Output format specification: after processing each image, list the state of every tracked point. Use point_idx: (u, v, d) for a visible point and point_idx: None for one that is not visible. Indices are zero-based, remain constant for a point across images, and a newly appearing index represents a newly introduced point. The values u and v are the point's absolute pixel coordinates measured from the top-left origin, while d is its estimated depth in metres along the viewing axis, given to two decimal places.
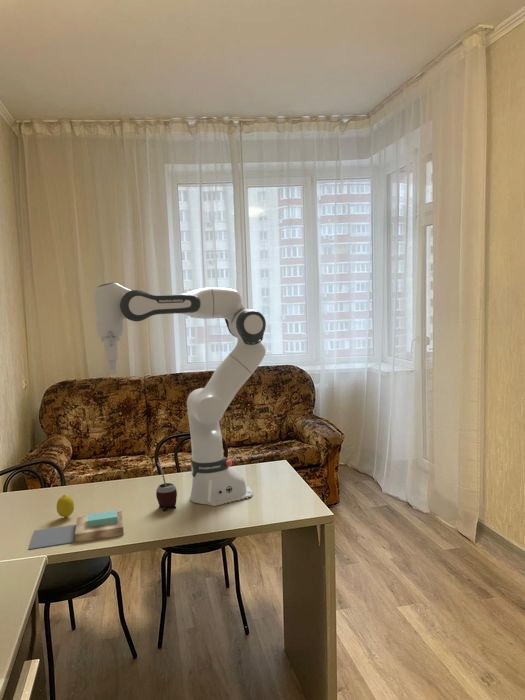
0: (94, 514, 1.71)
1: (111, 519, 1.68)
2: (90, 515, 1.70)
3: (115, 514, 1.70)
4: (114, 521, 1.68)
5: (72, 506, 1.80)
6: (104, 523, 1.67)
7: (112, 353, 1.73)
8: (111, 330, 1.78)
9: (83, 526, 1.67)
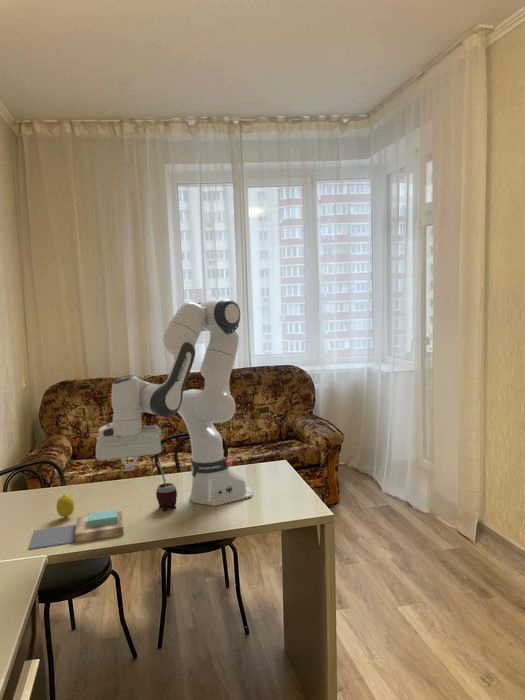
0: (94, 514, 1.71)
1: (111, 519, 1.68)
2: (90, 515, 1.70)
3: (115, 514, 1.70)
4: (114, 521, 1.68)
5: (72, 506, 1.80)
6: (104, 523, 1.67)
7: None
8: None
9: (83, 526, 1.67)
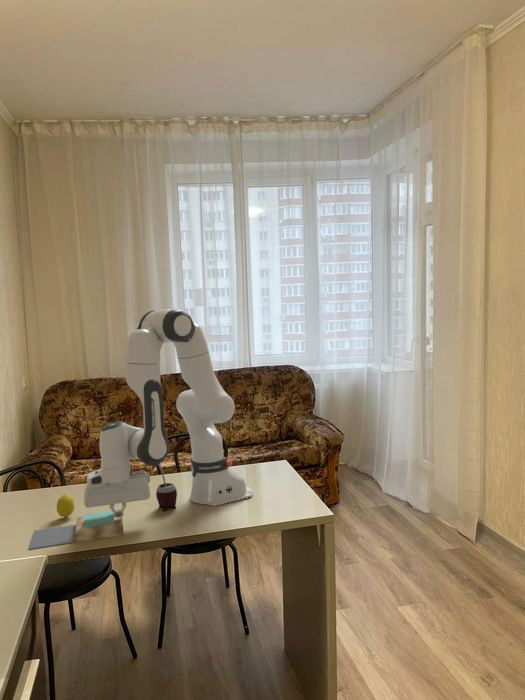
0: (91, 514, 1.71)
1: (107, 520, 1.68)
2: (86, 516, 1.70)
3: (112, 514, 1.70)
4: (111, 522, 1.68)
5: (72, 506, 1.80)
6: (101, 524, 1.67)
7: None
8: None
9: (83, 526, 1.67)
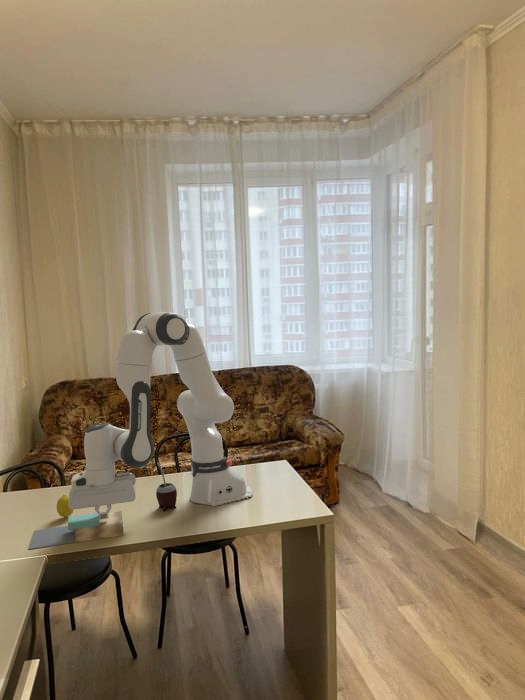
0: (75, 517, 1.70)
1: (92, 522, 1.66)
2: (71, 518, 1.69)
3: (97, 517, 1.69)
4: (95, 524, 1.67)
5: None
6: (85, 526, 1.66)
7: None
8: None
9: None
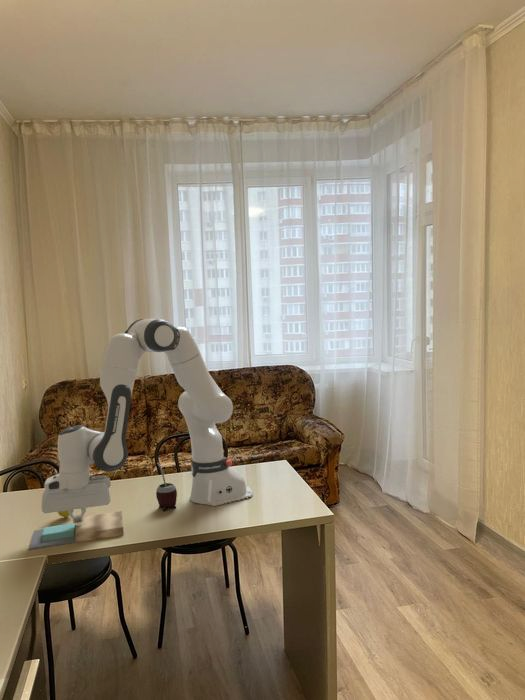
0: (51, 527, 1.68)
1: (67, 533, 1.65)
2: (46, 528, 1.67)
3: (72, 527, 1.67)
4: (70, 535, 1.65)
5: None
6: (60, 537, 1.64)
7: None
8: (89, 475, 1.68)
9: (83, 526, 1.67)
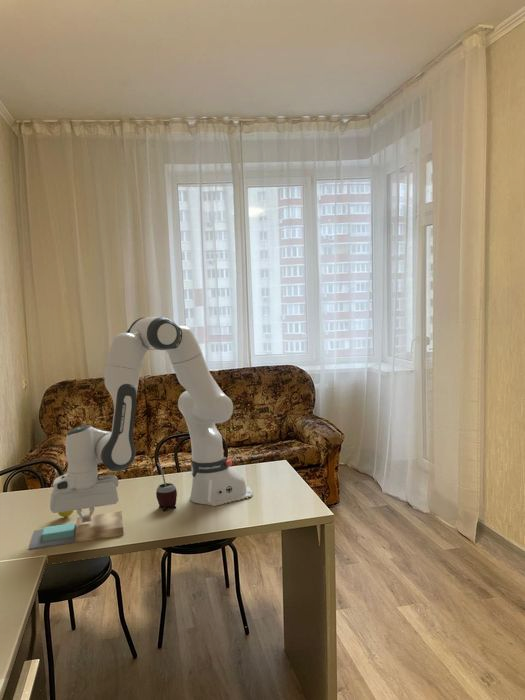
0: (51, 527, 1.68)
1: (67, 533, 1.65)
2: (46, 528, 1.67)
3: (72, 527, 1.67)
4: (70, 534, 1.65)
5: None
6: (60, 537, 1.64)
7: None
8: (97, 474, 1.69)
9: (83, 526, 1.67)
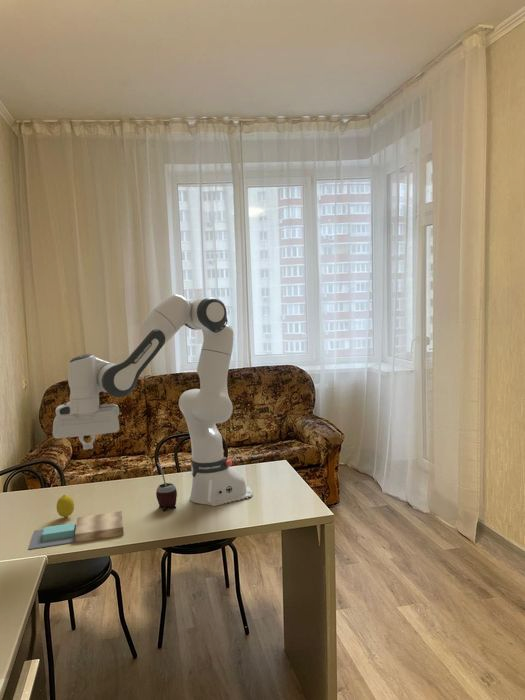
0: (51, 527, 1.68)
1: (67, 533, 1.65)
2: (46, 528, 1.67)
3: (72, 527, 1.67)
4: (70, 534, 1.65)
5: (72, 506, 1.80)
6: (60, 537, 1.64)
7: None
8: None
9: (83, 526, 1.67)
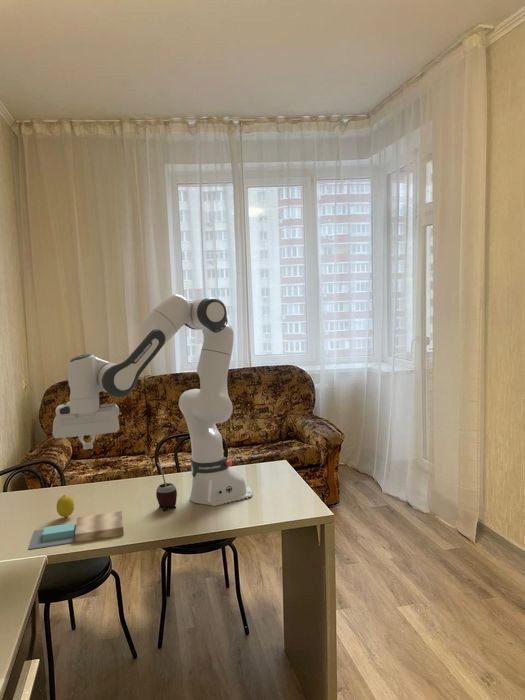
0: (51, 527, 1.68)
1: (67, 533, 1.65)
2: (46, 528, 1.67)
3: (72, 527, 1.67)
4: (70, 534, 1.65)
5: (72, 506, 1.80)
6: (60, 537, 1.64)
7: None
8: None
9: (83, 526, 1.67)
